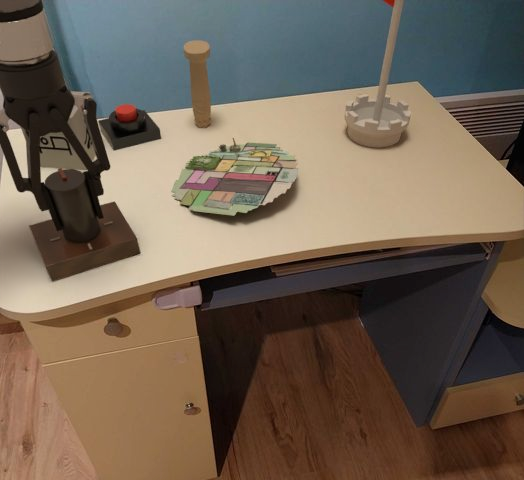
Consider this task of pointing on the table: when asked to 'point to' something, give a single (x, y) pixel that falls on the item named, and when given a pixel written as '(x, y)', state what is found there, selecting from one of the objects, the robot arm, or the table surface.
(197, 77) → the handle
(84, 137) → the icon cube
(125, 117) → the button
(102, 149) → the robot arm
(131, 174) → the table surface
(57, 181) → the knob
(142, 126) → the button box
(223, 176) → the city model
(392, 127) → the flag stand
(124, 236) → the panel
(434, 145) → the table surface
